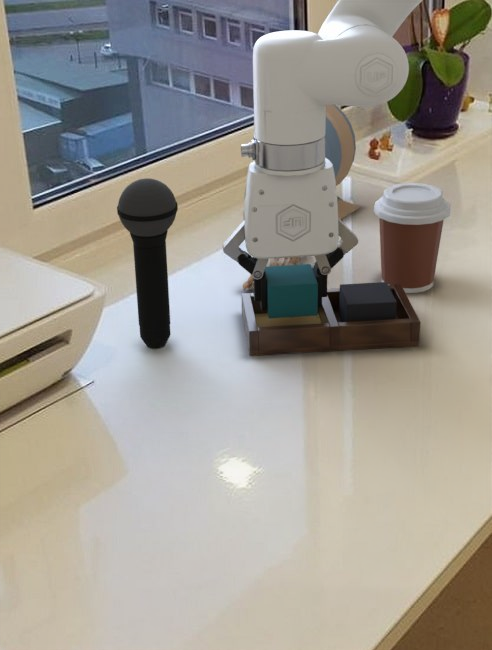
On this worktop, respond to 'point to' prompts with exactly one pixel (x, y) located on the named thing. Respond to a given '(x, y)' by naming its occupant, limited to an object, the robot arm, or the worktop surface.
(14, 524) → the worktop surface
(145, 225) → the microphone
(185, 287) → the worktop surface
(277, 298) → the teal block
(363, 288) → the charcoal block
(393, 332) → the brown wooden divided tray
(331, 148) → the alarm clock
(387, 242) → the coffee cup
